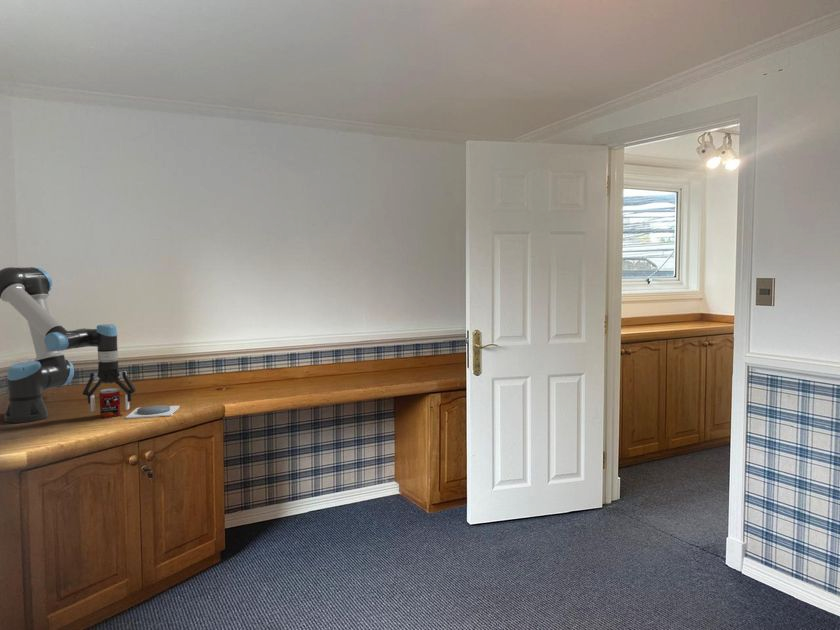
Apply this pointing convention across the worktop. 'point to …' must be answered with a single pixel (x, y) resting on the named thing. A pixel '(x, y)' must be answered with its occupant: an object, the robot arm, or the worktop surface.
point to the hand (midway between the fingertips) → (110, 410)
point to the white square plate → (153, 411)
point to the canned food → (109, 402)
